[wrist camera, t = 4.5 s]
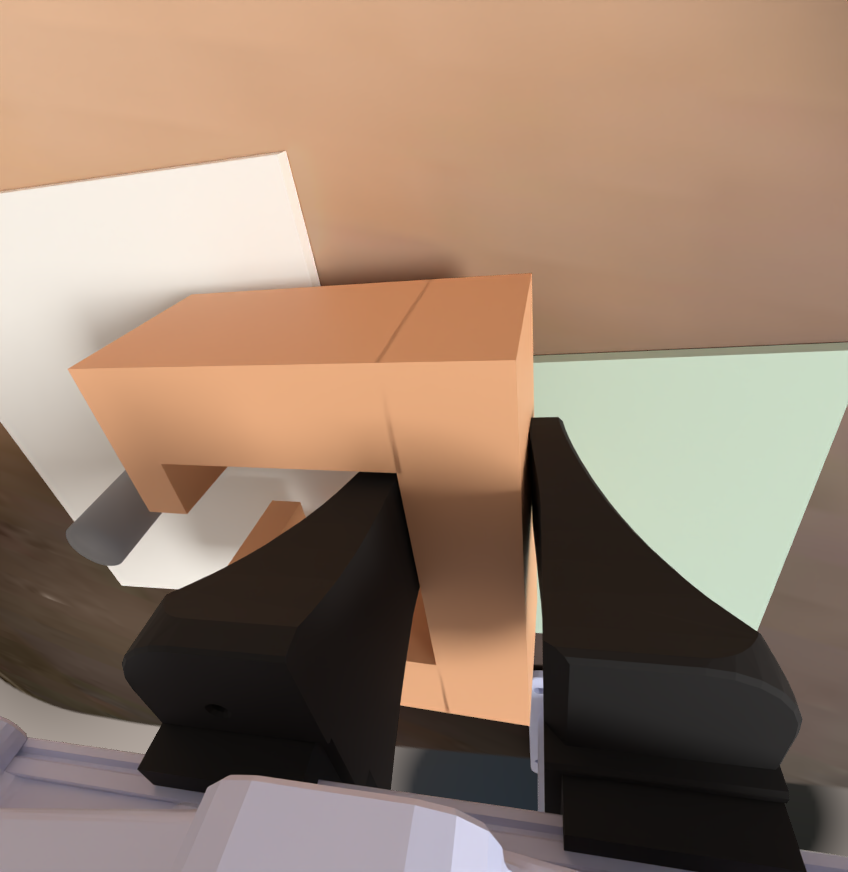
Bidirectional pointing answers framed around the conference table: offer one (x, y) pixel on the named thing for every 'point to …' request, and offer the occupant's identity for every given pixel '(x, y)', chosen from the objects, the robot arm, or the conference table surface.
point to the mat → (704, 451)
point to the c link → (360, 442)
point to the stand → (121, 313)
